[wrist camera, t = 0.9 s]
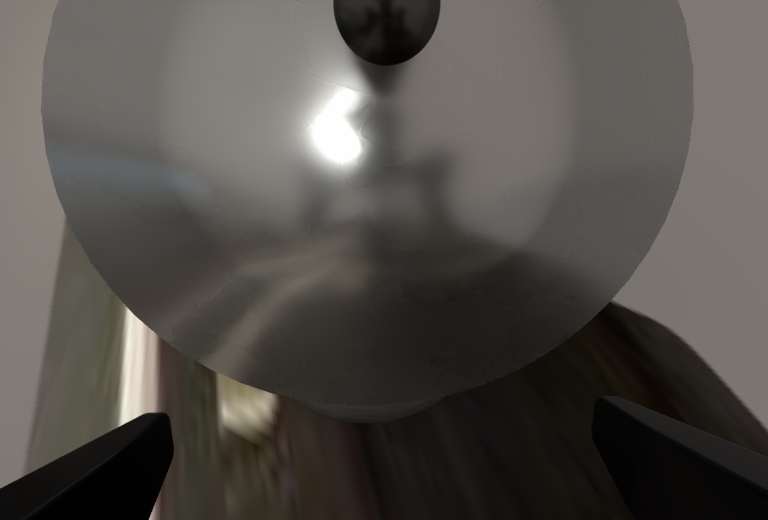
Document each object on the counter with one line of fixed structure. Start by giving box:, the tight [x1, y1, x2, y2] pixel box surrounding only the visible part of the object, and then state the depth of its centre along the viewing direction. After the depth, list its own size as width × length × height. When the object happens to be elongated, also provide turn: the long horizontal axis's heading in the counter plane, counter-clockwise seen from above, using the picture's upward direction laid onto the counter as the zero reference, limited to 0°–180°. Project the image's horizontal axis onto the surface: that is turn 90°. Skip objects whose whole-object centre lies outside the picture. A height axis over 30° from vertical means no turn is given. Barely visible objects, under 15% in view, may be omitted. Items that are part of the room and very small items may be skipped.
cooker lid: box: [41, 0, 693, 406], centre depth 8 cm, size 19×14×2 cm
